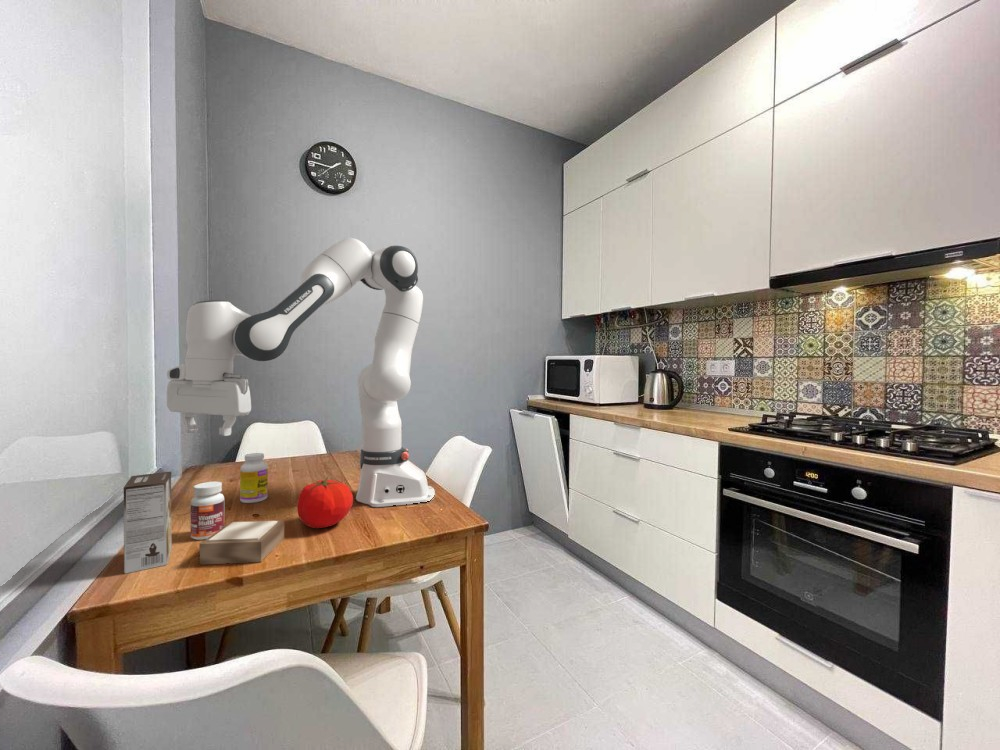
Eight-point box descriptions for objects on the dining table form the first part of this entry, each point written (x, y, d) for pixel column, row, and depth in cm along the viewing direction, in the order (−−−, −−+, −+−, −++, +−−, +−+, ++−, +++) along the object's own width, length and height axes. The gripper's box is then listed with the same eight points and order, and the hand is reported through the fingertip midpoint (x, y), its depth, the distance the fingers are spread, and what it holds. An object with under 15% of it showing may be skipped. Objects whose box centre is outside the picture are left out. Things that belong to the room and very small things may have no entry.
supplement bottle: (258, 504, 112) (258, 457, 111) (234, 503, 112) (234, 457, 111) (272, 496, 118) (272, 452, 118) (250, 495, 118) (250, 451, 118)
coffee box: (131, 555, 81) (130, 475, 81) (172, 547, 85) (172, 470, 85) (122, 574, 74) (122, 486, 73) (168, 565, 77) (168, 481, 77)
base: (284, 538, 90) (284, 519, 90) (261, 562, 79) (261, 540, 79) (230, 540, 89) (230, 520, 89) (199, 564, 78) (199, 542, 78)
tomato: (302, 516, 103) (302, 475, 103) (354, 512, 106) (354, 472, 106) (290, 538, 90) (291, 490, 90) (350, 532, 94) (350, 487, 93)
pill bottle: (198, 543, 87) (198, 490, 87) (185, 536, 90) (185, 485, 90) (229, 533, 92) (229, 483, 92) (216, 527, 96) (216, 479, 95)
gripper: (259, 373, 92) (257, 435, 92) (188, 371, 97) (187, 429, 97) (234, 373, 86) (233, 439, 86) (160, 371, 91) (159, 432, 91)
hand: (208, 434), depth 91 cm, fingers open, 8 cm apart
